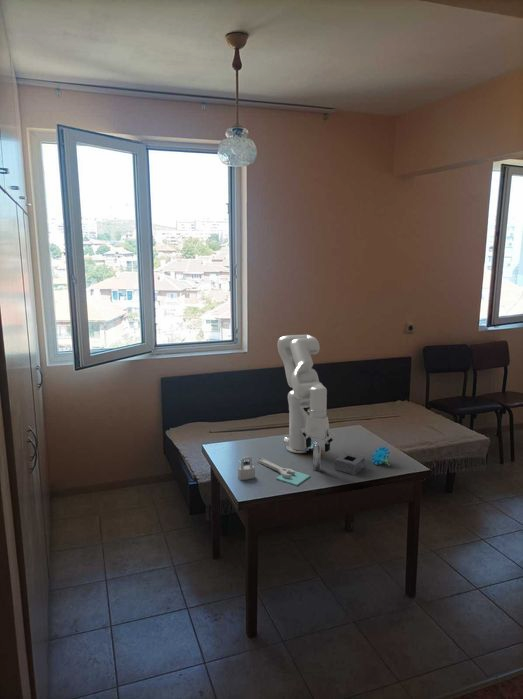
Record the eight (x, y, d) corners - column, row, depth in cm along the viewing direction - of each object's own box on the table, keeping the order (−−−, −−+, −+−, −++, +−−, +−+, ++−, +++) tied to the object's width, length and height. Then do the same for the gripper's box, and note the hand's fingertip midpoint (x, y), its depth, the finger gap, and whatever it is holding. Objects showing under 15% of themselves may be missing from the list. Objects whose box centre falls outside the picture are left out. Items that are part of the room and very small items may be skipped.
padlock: (240, 481, 218) (240, 459, 216) (237, 477, 222) (237, 456, 220) (255, 478, 221) (255, 457, 219) (252, 474, 224) (252, 453, 223)
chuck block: (335, 469, 230) (335, 459, 229) (344, 462, 238) (345, 452, 237) (354, 475, 224) (355, 464, 223) (364, 467, 232) (364, 457, 231)
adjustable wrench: (256, 461, 239) (255, 458, 238) (267, 458, 242) (267, 455, 242) (286, 479, 218) (286, 475, 218) (298, 475, 221) (297, 471, 221)
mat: (276, 479, 220) (276, 477, 220) (289, 470, 228) (289, 469, 228) (297, 485, 213) (297, 484, 213) (310, 476, 222) (310, 475, 222)
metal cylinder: (311, 469, 229) (312, 445, 227) (315, 467, 232) (315, 443, 230) (317, 471, 227) (318, 447, 225) (321, 469, 230) (322, 444, 228)
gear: (367, 456, 241) (381, 441, 240) (374, 462, 243) (388, 448, 243) (376, 468, 231) (392, 453, 230) (384, 475, 233) (399, 460, 232)
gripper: (297, 411, 226) (297, 447, 229) (331, 418, 216) (330, 455, 219) (306, 408, 232) (305, 443, 235) (339, 414, 222) (338, 450, 225)
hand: (317, 449), depth 227 cm, fingers open, 9 cm apart
